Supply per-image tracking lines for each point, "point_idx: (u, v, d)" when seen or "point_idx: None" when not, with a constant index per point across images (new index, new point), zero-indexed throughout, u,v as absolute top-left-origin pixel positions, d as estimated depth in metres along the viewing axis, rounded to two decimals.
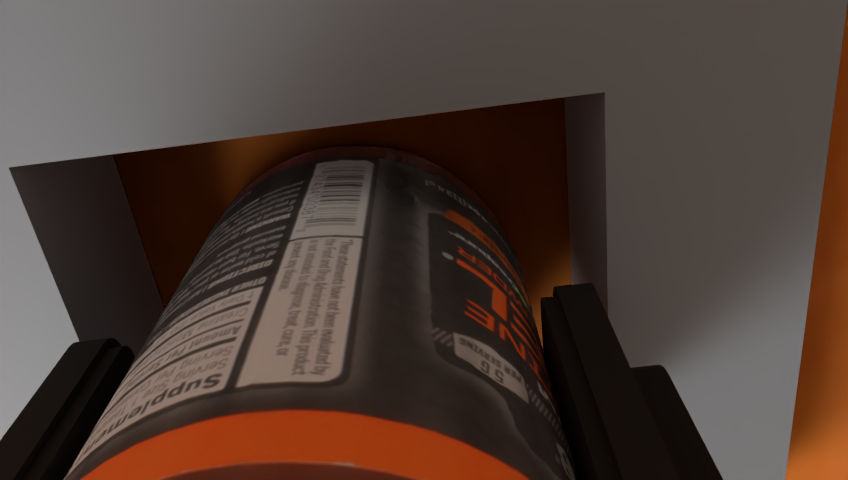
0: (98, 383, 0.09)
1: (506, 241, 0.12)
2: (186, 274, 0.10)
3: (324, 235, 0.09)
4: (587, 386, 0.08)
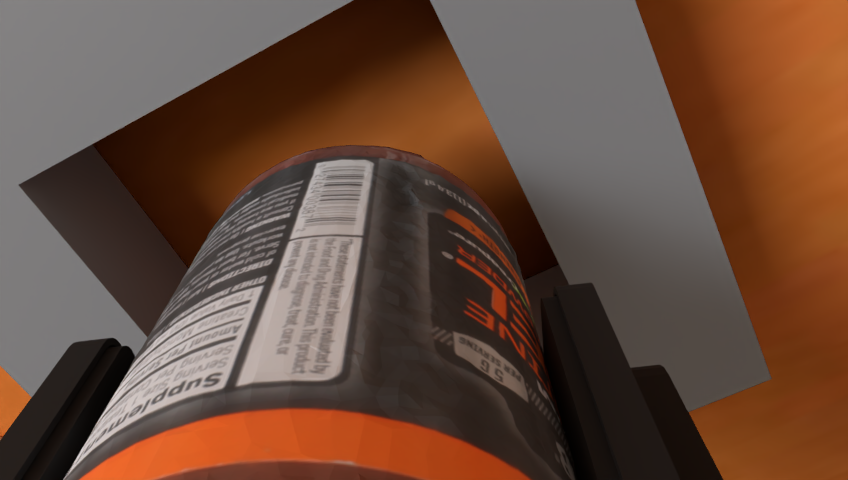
0: (98, 383, 0.09)
1: (506, 240, 0.12)
2: (186, 273, 0.11)
3: (325, 234, 0.09)
4: (587, 386, 0.08)
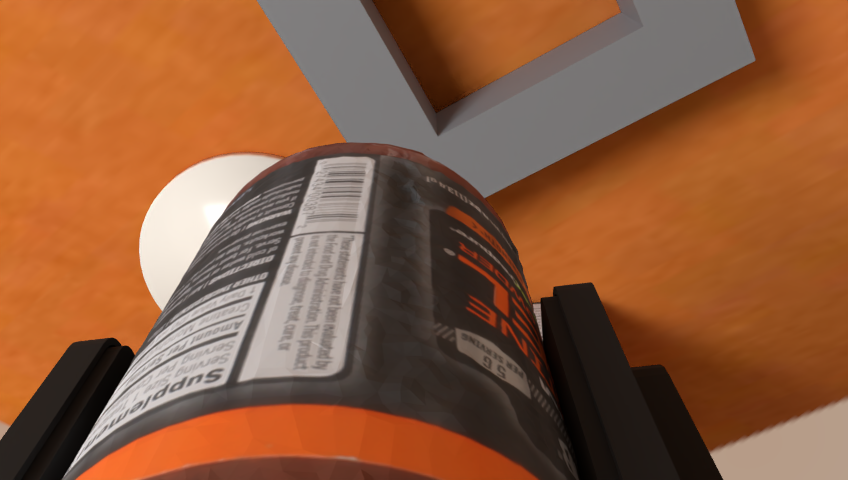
0: (98, 383, 0.09)
1: (507, 238, 0.12)
2: (187, 271, 0.10)
3: (326, 231, 0.09)
4: (587, 386, 0.08)
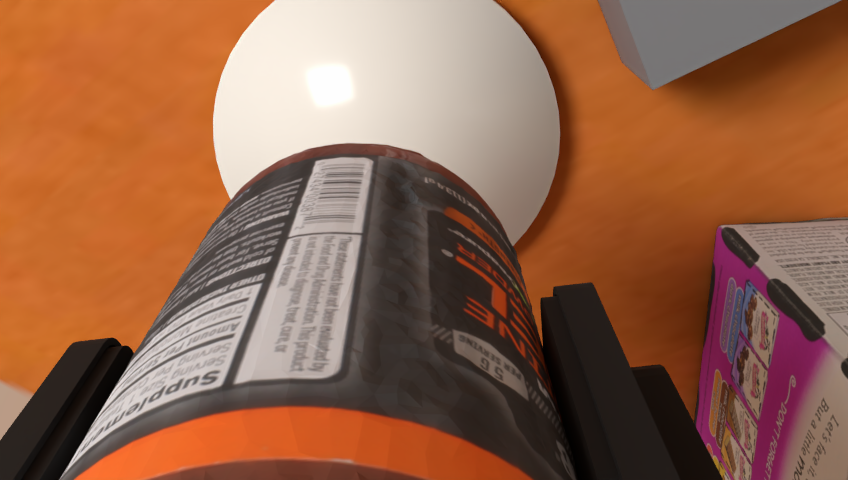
0: (98, 383, 0.09)
1: (506, 239, 0.12)
2: (184, 272, 0.10)
3: (323, 231, 0.09)
4: (586, 386, 0.08)
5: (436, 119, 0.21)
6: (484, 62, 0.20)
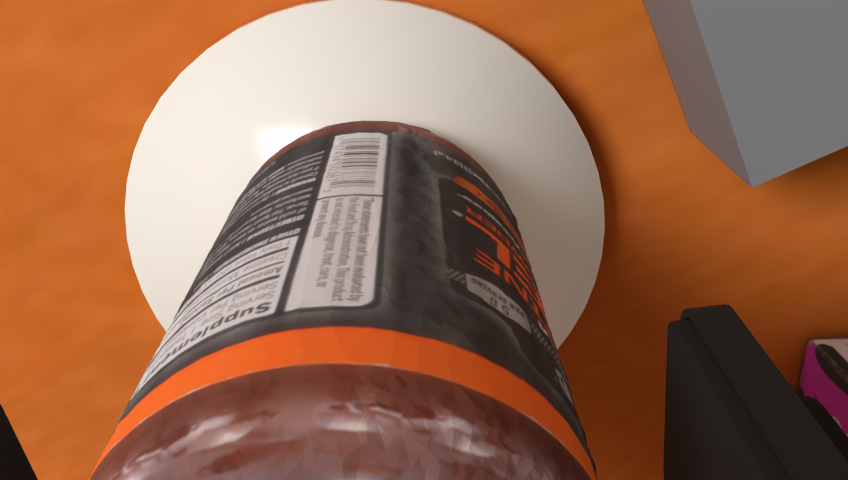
0: None
1: (507, 207, 0.13)
2: (220, 234, 0.12)
3: (348, 193, 0.10)
4: (758, 426, 0.07)
5: None
6: (501, 135, 0.14)
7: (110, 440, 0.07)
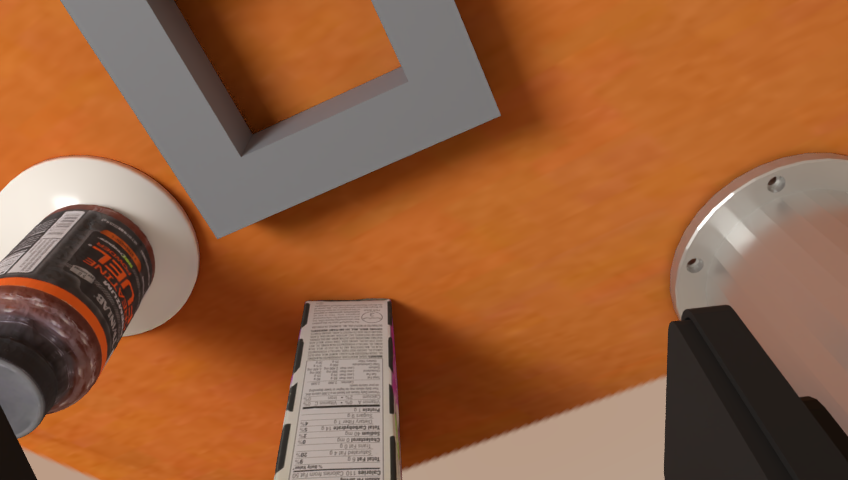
0: None
1: (137, 240, 0.34)
2: None
3: (50, 237, 0.31)
4: (759, 427, 0.07)
5: None
6: (144, 211, 0.35)
7: None
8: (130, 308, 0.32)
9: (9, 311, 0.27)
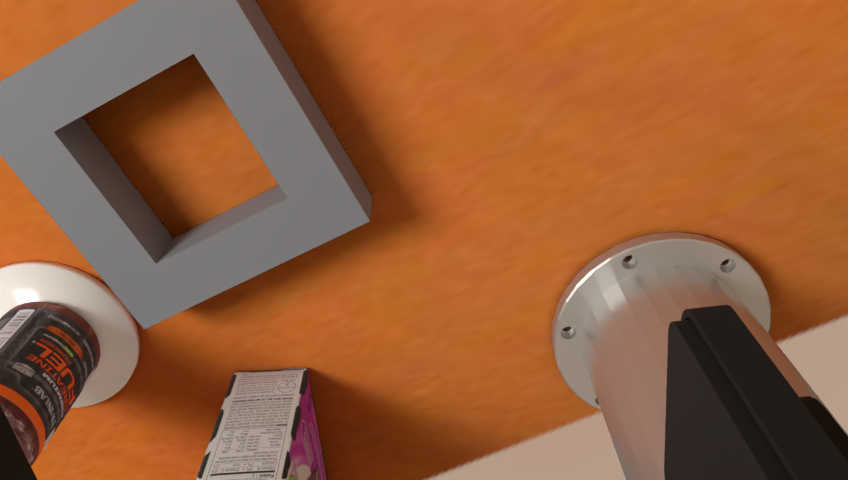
0: None
1: (80, 331, 0.40)
2: None
3: (0, 337, 0.37)
4: (759, 427, 0.07)
5: None
6: (87, 304, 0.41)
7: None
8: (71, 392, 0.38)
9: None
